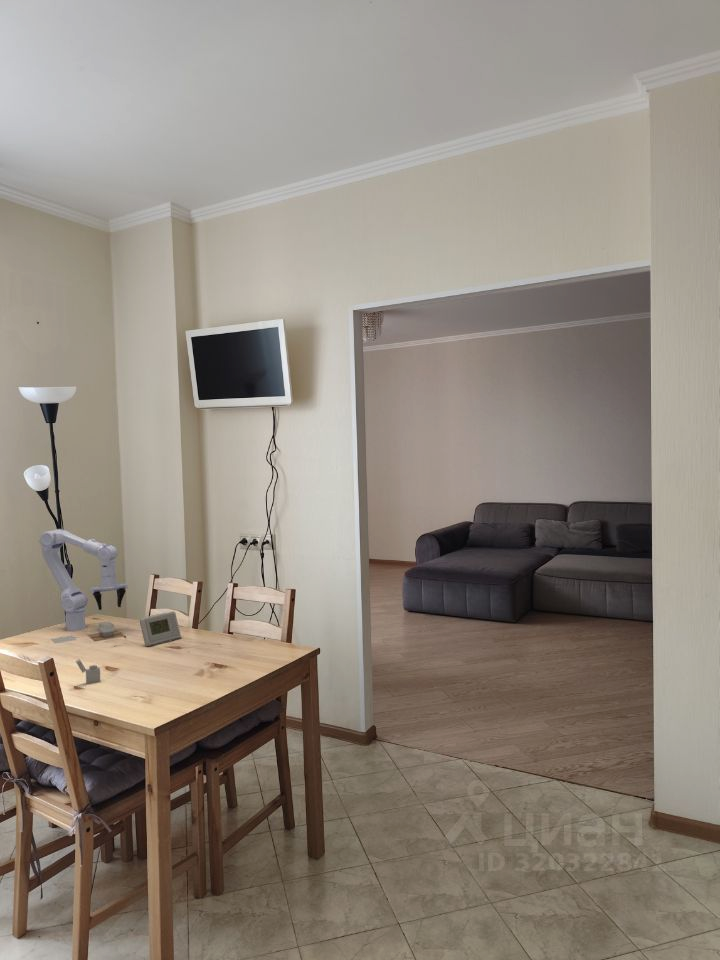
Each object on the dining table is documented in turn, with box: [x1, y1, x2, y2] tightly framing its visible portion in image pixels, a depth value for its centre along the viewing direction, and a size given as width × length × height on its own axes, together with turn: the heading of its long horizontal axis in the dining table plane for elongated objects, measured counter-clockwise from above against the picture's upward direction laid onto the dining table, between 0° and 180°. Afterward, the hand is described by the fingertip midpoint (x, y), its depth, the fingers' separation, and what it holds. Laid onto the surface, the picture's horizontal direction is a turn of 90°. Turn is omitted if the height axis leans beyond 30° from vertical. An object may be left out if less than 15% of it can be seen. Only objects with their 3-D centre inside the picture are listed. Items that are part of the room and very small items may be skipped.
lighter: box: [75, 658, 101, 684], centre depth 222 cm, size 7×2×8 cm, turn 121°
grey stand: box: [50, 635, 77, 644], centre depth 270 cm, size 8×8×2 cm
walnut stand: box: [87, 629, 127, 642], centre depth 275 cm, size 12×12×2 cm
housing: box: [98, 620, 115, 638], centre depth 274 cm, size 4×6×5 cm, turn 35°
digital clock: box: [139, 611, 182, 647], centre depth 270 cm, size 16×9×11 cm, turn 129°
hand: (109, 608), depth 284 cm, fingers open, 7 cm apart
